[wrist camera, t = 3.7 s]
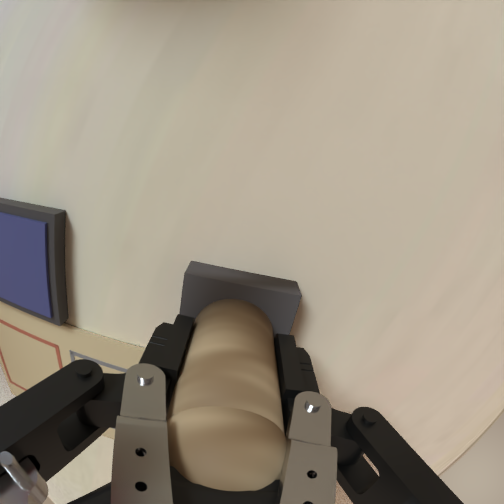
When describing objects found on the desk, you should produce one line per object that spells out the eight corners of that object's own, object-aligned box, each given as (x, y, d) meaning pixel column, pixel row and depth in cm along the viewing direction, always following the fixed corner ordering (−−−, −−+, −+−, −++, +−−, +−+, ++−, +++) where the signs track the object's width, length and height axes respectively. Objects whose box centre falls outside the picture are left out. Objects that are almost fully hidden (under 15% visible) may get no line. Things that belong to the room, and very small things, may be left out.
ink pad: (65, 210, 13) (52, 215, 12) (68, 318, 15) (58, 328, 13) (-28, 192, 12) (-40, 195, 11) (-21, 281, 14) (-31, 287, 13)
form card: (187, 358, 15) (186, 362, 15) (178, 454, 18) (177, 457, 18) (-17, 288, 14) (-19, 290, 14) (13, 391, 17) (11, 393, 17)
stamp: (296, 281, 14) (359, 478, 4) (271, 363, 15) (286, 539, 6) (191, 260, 14) (100, 446, 4) (180, 346, 15) (128, 518, 5)
